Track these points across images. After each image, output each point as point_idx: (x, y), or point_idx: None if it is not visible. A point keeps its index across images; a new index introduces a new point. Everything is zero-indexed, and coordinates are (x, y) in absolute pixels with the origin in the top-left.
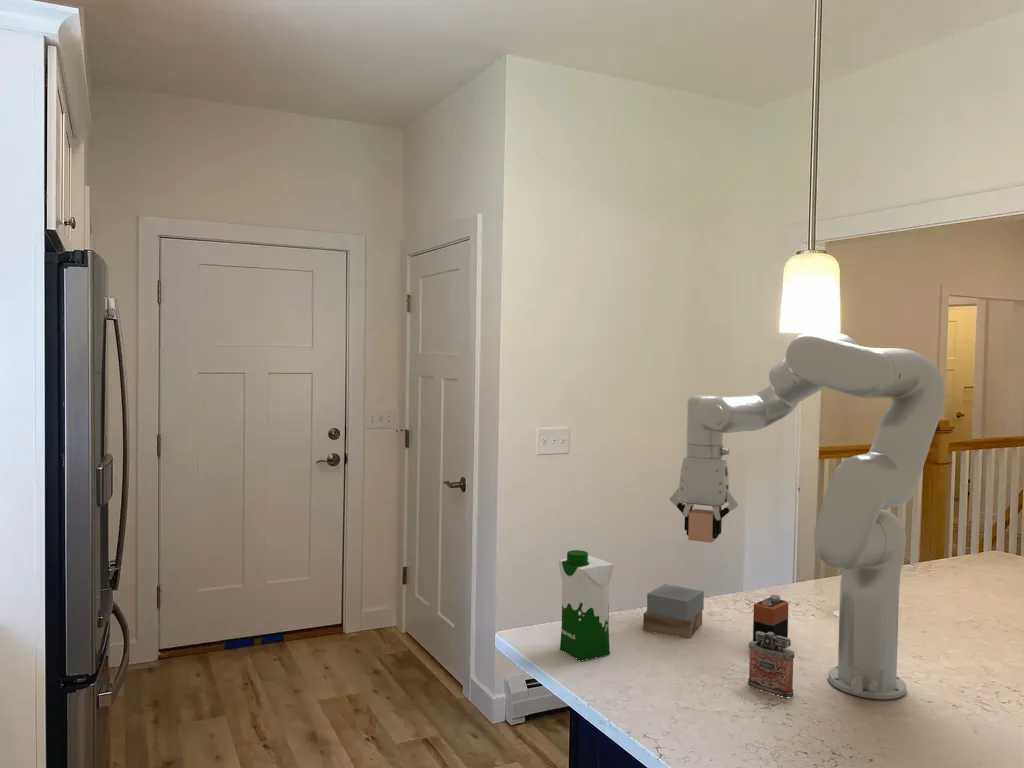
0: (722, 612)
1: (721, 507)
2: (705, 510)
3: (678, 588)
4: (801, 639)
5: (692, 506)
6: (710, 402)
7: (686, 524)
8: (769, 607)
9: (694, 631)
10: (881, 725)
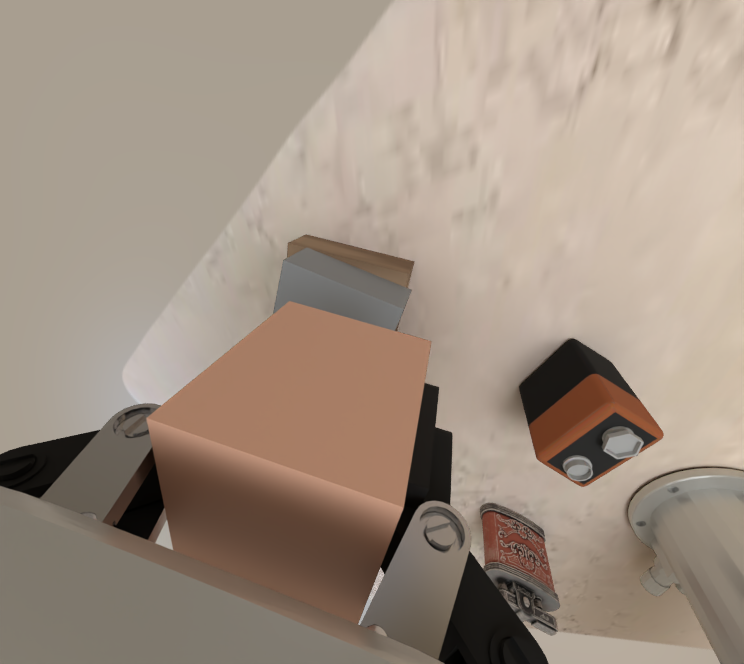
0: (478, 131)
1: (442, 642)
2: (272, 500)
3: (328, 297)
4: (673, 313)
5: (125, 505)
6: None
7: None
8: (576, 482)
9: (397, 327)
10: (644, 595)
